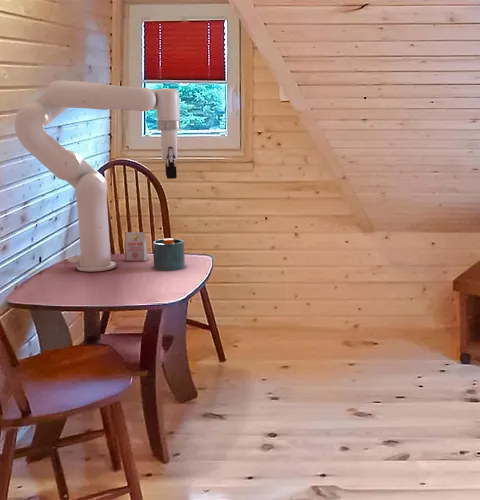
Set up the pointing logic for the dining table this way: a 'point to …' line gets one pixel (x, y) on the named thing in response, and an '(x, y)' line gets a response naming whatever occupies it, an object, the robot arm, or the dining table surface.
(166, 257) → the mug
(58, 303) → the dining table surface
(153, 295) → the dining table surface
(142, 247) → the white printed carton
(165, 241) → the glue stick
